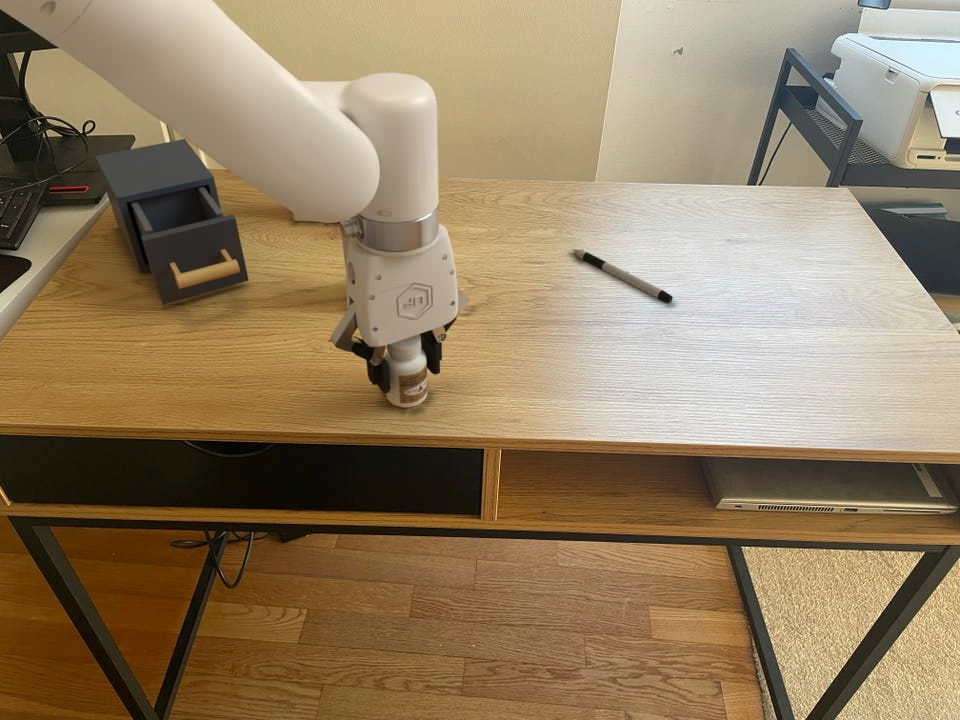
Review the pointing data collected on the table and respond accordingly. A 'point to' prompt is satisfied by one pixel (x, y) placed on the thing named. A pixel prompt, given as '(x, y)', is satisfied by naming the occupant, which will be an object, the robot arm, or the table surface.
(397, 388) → the pill bottle
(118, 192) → the cabinet
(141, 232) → the drawer
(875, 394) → the table surface
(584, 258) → the pen
